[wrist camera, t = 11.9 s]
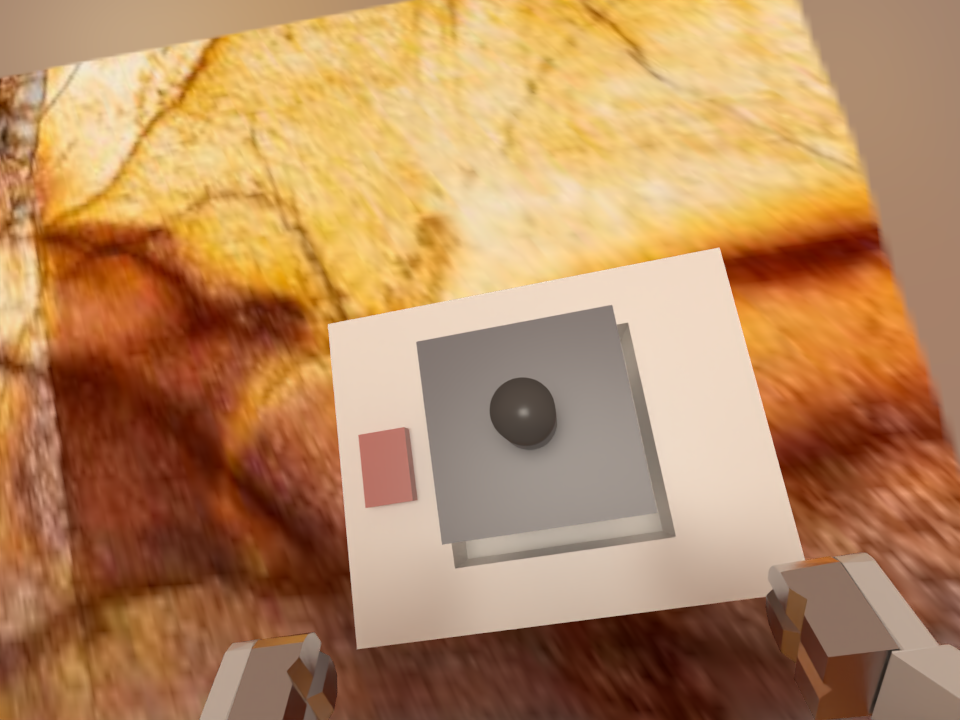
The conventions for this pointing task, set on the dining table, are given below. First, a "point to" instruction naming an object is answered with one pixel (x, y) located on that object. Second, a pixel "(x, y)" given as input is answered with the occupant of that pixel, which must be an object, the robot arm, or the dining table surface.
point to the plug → (532, 427)
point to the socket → (578, 548)
